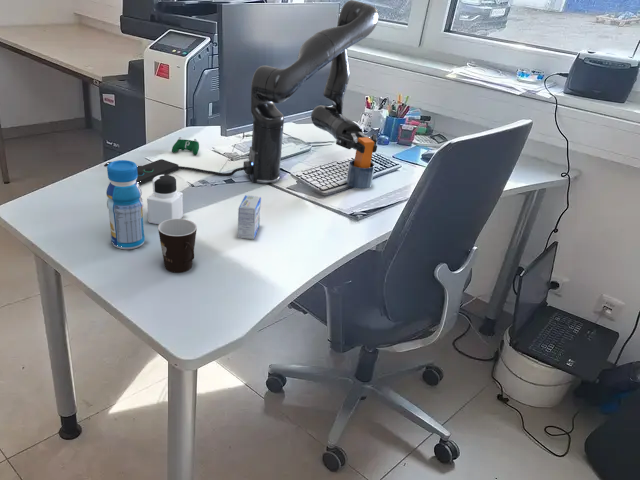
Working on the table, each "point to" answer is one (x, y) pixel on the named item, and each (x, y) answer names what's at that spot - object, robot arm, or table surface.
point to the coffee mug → (177, 244)
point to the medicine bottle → (164, 200)
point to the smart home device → (155, 170)
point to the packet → (364, 158)
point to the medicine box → (249, 217)
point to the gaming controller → (186, 145)
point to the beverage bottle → (125, 205)
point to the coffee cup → (360, 176)
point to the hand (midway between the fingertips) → (369, 149)
